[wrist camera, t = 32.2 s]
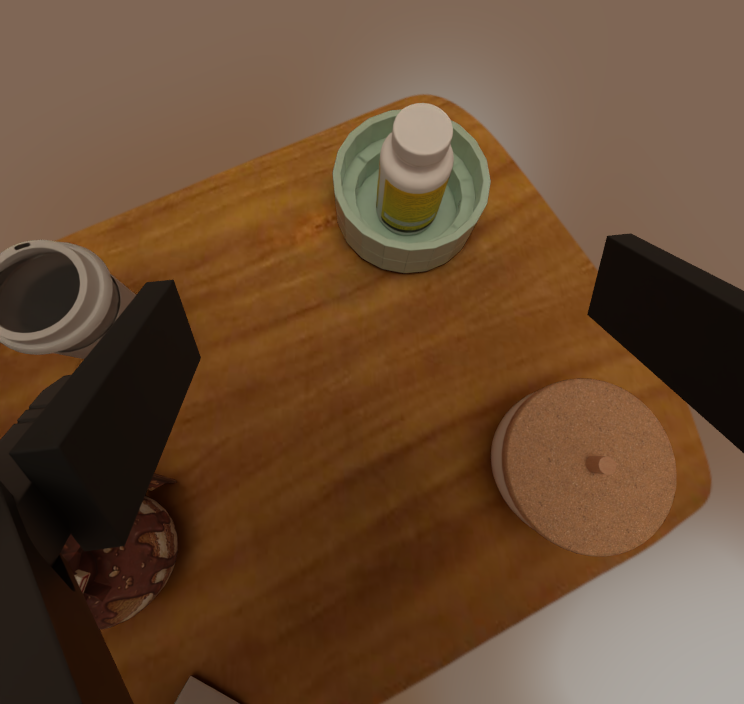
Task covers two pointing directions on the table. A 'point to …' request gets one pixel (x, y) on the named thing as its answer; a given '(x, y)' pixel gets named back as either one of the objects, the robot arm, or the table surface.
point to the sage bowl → (359, 194)
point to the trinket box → (585, 466)
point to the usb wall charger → (201, 694)
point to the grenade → (127, 564)
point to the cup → (57, 298)
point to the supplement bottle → (414, 169)
